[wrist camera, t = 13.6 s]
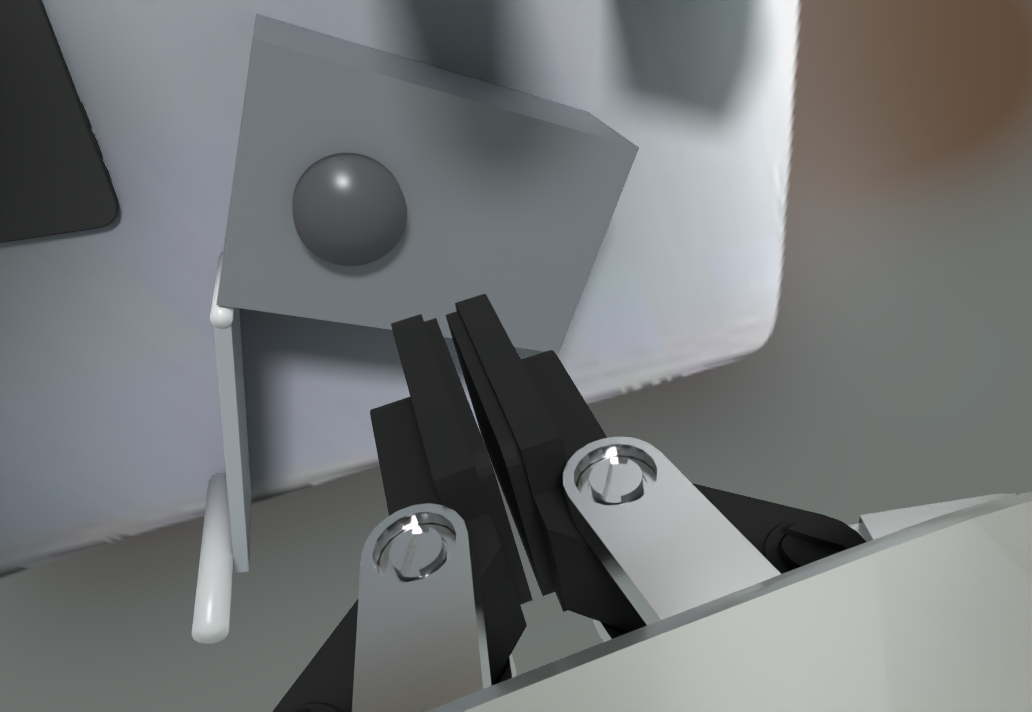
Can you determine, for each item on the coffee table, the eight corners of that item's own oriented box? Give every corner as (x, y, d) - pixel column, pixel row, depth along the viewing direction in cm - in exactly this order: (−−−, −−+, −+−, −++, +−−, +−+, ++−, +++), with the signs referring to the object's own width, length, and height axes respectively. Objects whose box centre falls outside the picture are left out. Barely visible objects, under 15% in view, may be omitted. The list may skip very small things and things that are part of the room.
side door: (184, 250, 39) (154, 367, 29) (237, 251, 39) (226, 365, 30) (210, 498, 48) (193, 651, 38) (253, 495, 48) (248, 643, 39)
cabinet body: (224, 245, 39) (215, 315, 33) (256, 14, 34) (252, 43, 27) (523, 297, 46) (564, 363, 40) (588, 112, 41) (647, 153, 34)
